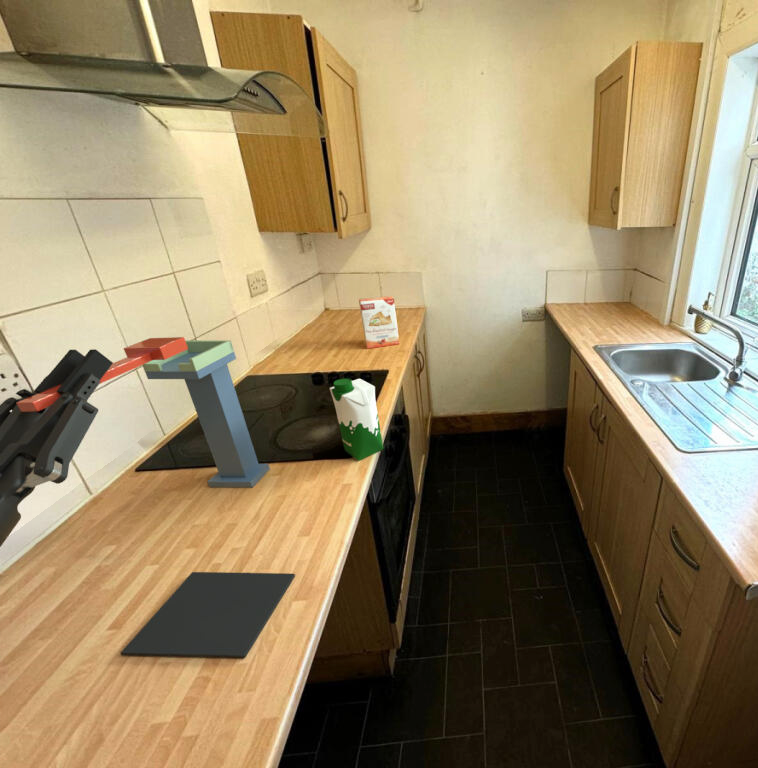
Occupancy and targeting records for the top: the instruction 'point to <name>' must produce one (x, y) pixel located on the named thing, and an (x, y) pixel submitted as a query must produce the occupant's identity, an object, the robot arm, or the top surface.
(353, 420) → the milk carton
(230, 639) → the mat
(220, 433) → the stand
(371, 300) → the cracker box
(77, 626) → the top surface
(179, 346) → the red toy mallet
